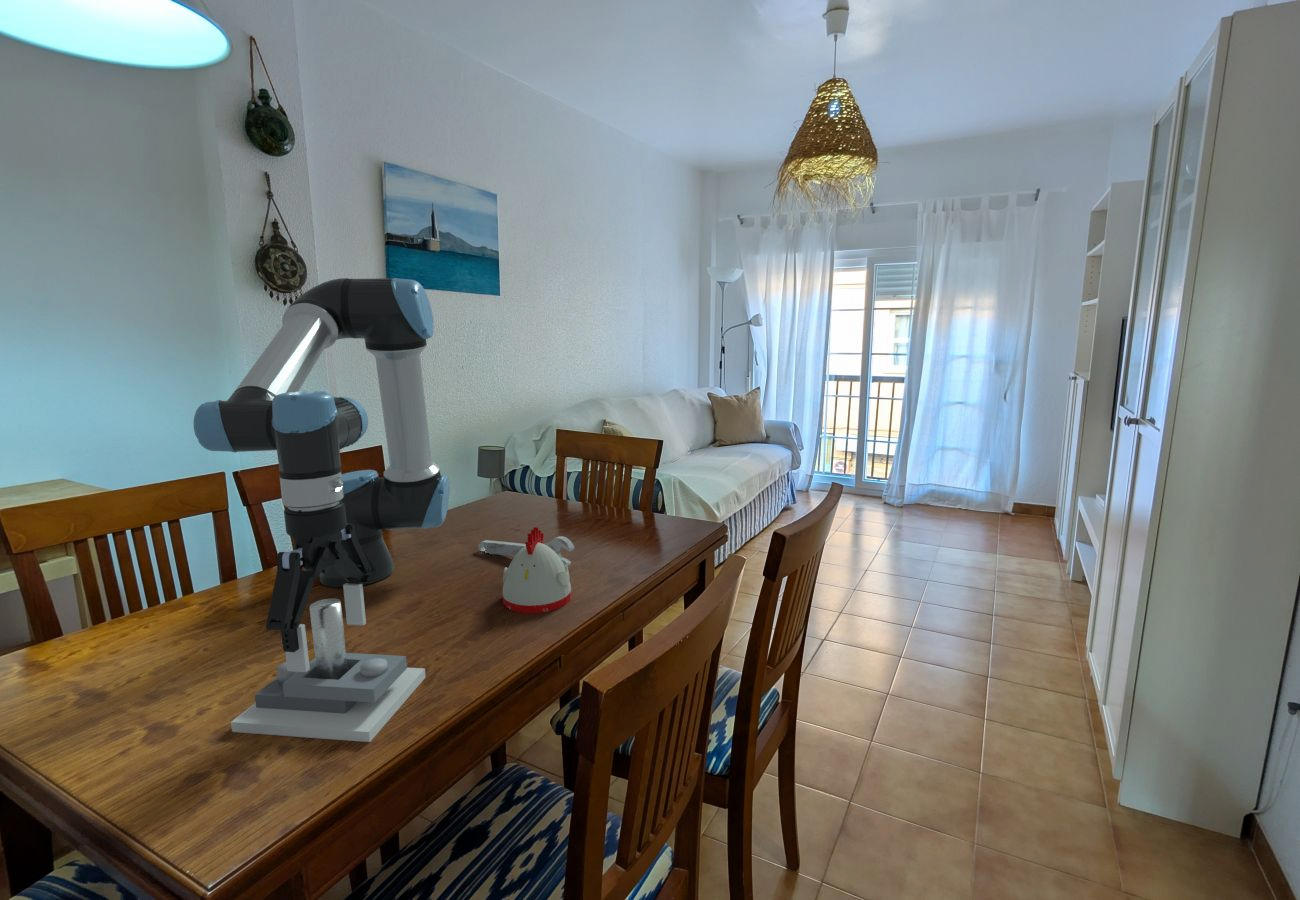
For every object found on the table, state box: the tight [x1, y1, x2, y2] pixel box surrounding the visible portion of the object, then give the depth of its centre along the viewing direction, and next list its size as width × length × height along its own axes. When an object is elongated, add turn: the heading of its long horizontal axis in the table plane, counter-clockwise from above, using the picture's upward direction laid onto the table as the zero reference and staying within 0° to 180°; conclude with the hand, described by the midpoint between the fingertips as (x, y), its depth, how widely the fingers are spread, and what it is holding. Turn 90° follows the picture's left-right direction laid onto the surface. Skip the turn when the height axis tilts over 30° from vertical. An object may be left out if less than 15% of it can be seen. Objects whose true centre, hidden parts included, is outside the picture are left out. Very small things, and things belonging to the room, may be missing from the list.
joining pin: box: [309, 597, 348, 680], centre depth 91 cm, size 4×4×14 cm
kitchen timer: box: [502, 526, 572, 614], centre depth 127 cm, size 14×14×15 cm
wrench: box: [477, 535, 575, 567], centre depth 148 cm, size 8×2×30 cm
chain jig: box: [230, 652, 426, 743], centre depth 92 cm, size 20×16×6 cm
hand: (329, 645), depth 90 cm, fingers open, 13 cm apart
